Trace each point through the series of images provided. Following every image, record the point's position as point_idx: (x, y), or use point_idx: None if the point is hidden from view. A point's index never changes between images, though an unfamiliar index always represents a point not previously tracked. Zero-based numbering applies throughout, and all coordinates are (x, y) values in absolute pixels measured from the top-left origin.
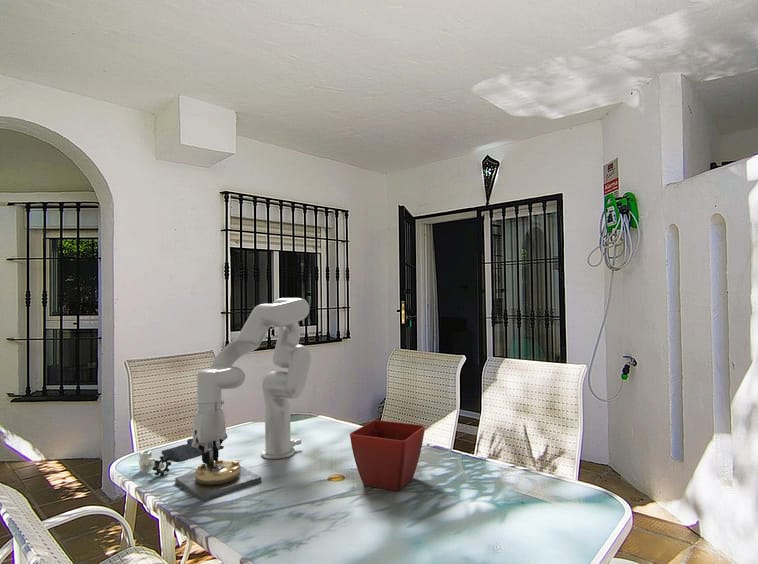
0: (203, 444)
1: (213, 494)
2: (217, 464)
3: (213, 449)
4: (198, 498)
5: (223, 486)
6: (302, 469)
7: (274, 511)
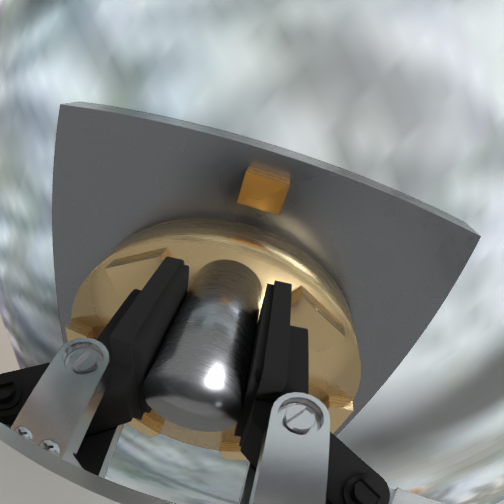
0: (71, 431)
1: None
2: None
3: (222, 427)
4: None
5: None
6: (449, 449)
7: (183, 488)
